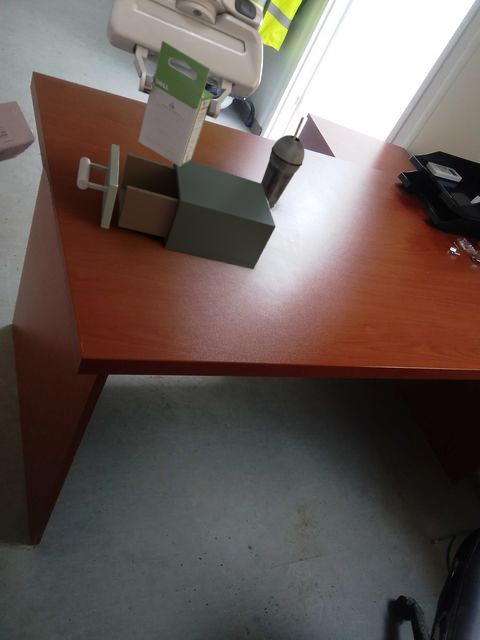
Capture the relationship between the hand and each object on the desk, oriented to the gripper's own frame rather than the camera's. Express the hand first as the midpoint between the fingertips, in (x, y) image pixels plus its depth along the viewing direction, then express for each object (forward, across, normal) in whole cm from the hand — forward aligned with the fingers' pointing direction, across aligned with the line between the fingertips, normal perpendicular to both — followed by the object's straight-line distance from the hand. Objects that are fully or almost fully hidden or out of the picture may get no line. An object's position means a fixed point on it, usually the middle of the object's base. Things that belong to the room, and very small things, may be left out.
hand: (179, 104), depth 60 cm
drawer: (+11, -1, +21) cm, 24 cm away
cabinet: (+12, +12, +22) cm, 28 cm away
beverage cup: (-2, +28, +36) cm, 45 cm away
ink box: (+5, 0, +6) cm, 8 cm away
